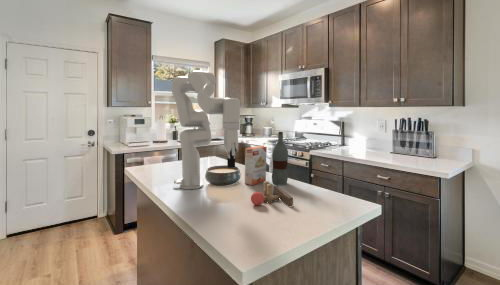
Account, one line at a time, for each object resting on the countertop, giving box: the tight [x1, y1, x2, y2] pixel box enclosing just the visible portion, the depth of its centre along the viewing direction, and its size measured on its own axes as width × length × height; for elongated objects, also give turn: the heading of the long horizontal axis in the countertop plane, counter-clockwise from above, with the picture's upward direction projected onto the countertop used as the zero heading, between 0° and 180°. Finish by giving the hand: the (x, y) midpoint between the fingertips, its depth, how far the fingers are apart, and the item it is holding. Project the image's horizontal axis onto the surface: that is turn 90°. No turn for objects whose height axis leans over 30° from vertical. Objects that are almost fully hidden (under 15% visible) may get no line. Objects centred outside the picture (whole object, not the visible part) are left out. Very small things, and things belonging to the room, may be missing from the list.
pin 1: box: [263, 180, 270, 196], centre depth 136 cm, size 2×2×8 cm
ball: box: [250, 191, 264, 206], centre depth 128 cm, size 6×6×6 cm
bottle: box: [271, 131, 289, 186], centre depth 163 cm, size 9×9×30 cm
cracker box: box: [244, 145, 268, 186], centre depth 165 cm, size 14×6×21 cm, turn 143°
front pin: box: [263, 194, 280, 202], centre depth 134 cm, size 2×2×8 cm
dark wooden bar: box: [273, 185, 294, 207], centre depth 135 cm, size 2×20×4 cm, turn 14°
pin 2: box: [266, 183, 273, 204], centre depth 131 cm, size 2×2×8 cm
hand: (231, 167), depth 127 cm, fingers closed
